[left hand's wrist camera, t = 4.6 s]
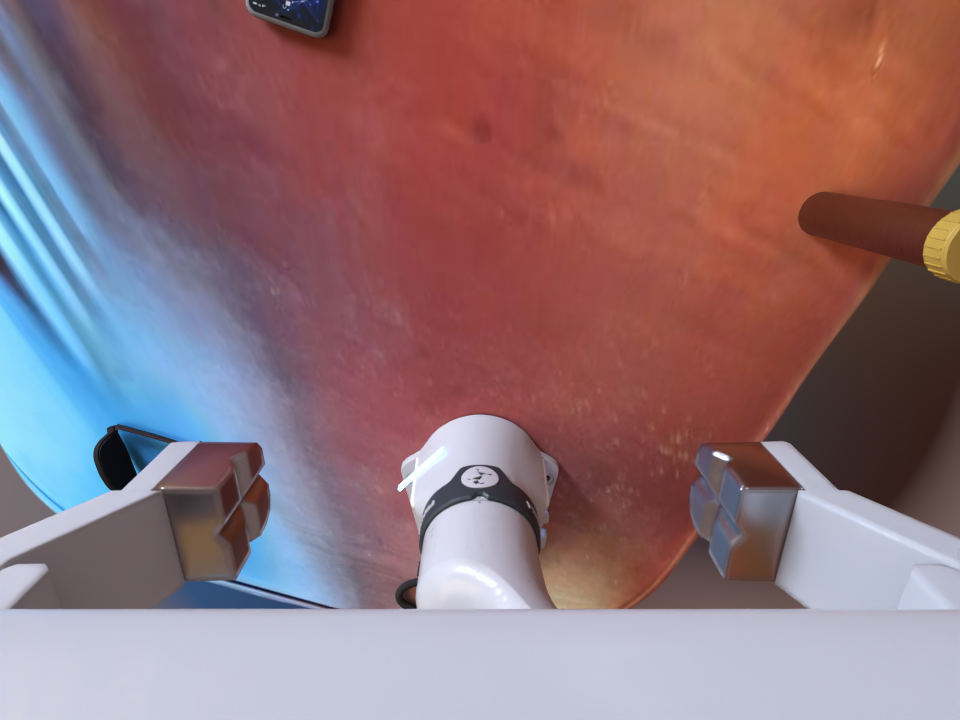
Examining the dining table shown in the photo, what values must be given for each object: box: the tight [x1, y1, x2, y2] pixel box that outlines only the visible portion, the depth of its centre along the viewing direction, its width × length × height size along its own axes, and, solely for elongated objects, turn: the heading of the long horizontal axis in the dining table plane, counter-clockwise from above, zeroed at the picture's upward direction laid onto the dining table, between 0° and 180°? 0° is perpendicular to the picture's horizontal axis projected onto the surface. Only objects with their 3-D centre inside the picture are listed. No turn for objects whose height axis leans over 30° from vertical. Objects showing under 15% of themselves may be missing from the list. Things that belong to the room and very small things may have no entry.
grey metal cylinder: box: [799, 192, 954, 267], centre depth 46 cm, size 4×4×19 cm
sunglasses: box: [93, 424, 179, 491], centre depth 64 cm, size 17×14×5 cm
